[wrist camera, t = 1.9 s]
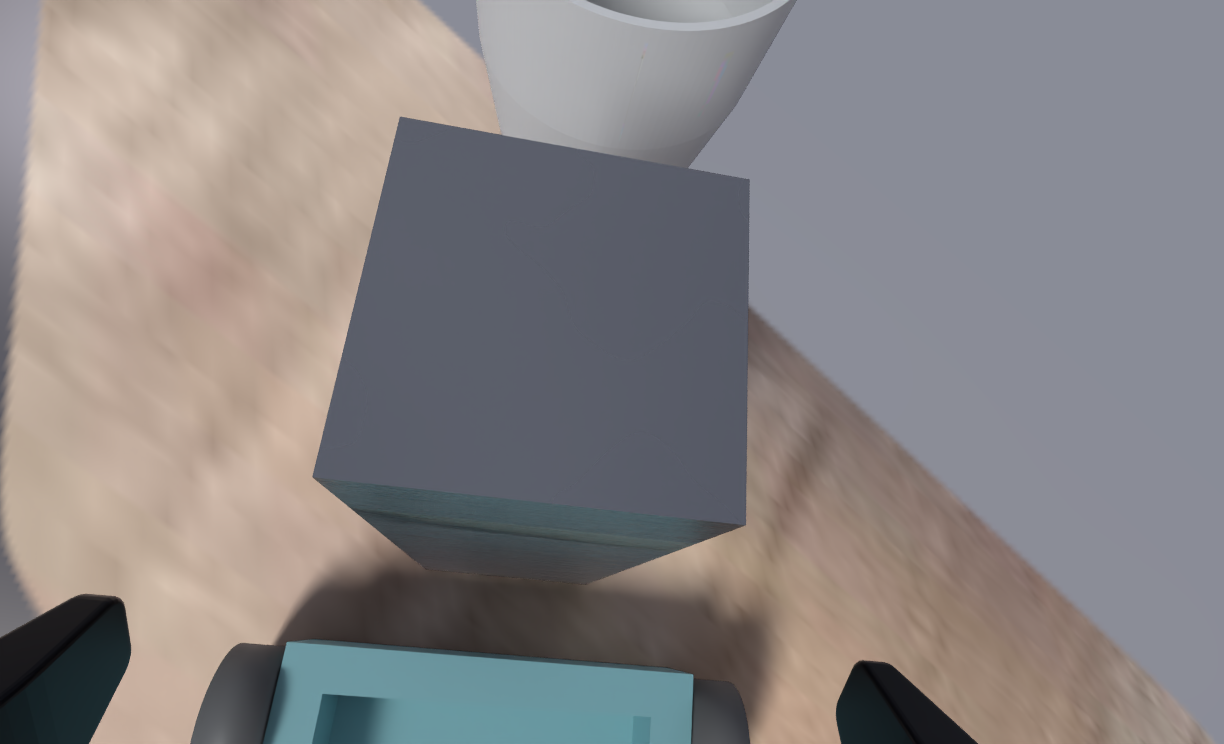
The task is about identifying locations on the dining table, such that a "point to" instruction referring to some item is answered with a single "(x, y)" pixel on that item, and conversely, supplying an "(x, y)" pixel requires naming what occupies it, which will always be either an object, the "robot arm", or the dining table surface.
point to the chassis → (455, 699)
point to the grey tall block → (544, 359)
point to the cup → (624, 70)
